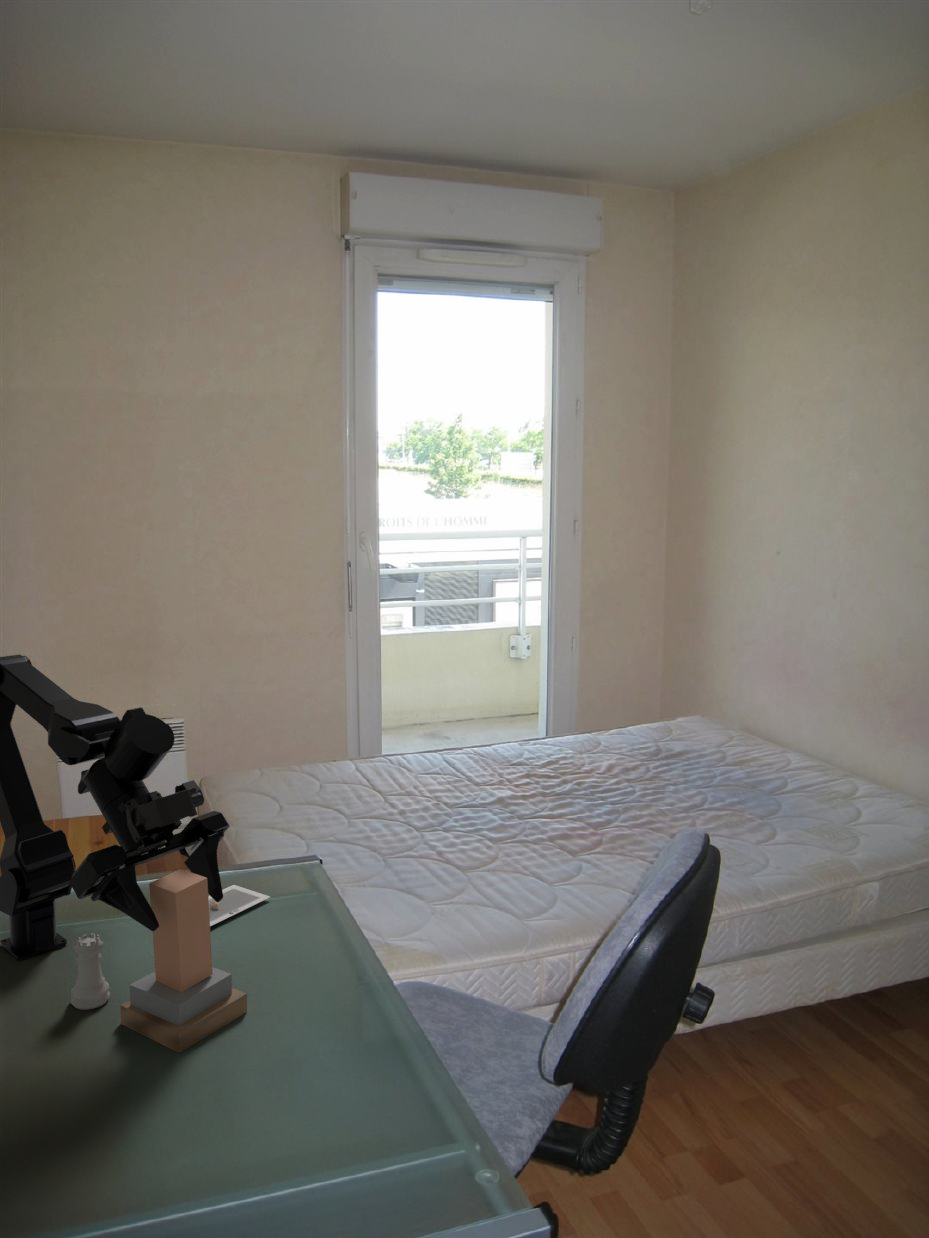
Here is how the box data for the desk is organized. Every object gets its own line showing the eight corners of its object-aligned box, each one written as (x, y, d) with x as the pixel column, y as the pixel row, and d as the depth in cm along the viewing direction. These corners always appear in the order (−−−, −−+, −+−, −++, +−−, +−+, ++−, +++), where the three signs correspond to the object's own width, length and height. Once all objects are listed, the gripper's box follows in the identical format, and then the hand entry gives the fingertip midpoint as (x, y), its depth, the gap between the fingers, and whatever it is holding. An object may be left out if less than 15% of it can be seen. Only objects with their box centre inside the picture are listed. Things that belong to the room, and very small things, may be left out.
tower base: (121, 1029, 107) (120, 1004, 107) (190, 991, 115) (189, 969, 115) (179, 1058, 102) (178, 1033, 101) (247, 1017, 110) (246, 993, 110)
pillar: (155, 980, 107) (149, 883, 105) (186, 963, 111) (181, 868, 109) (181, 992, 105) (175, 892, 103) (212, 974, 109) (207, 877, 107)
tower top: (130, 1005, 107) (129, 984, 106) (183, 975, 114) (183, 956, 113) (179, 1025, 103) (178, 1004, 102) (231, 993, 109) (231, 973, 109)
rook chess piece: (96, 1013, 109) (94, 949, 108) (62, 1008, 110) (59, 944, 109) (117, 994, 113) (116, 931, 112) (84, 989, 114) (82, 927, 113)
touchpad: (155, 927, 132) (155, 912, 132) (233, 891, 145) (233, 878, 144) (193, 941, 128) (193, 927, 128) (270, 903, 141) (270, 889, 140)
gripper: (83, 783, 99) (153, 907, 95) (218, 746, 115) (283, 852, 110) (42, 838, 104) (107, 959, 100) (176, 796, 120) (237, 899, 115)
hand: (189, 913), depth 106 cm, fingers open, 9 cm apart
